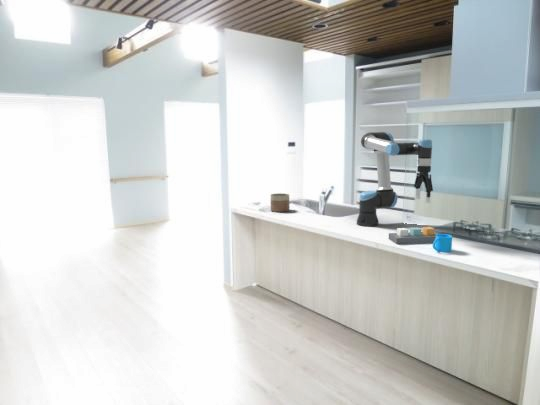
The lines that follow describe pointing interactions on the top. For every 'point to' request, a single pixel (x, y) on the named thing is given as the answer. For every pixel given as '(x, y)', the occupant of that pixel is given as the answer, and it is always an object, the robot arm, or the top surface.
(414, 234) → the button teal
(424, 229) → the button orange
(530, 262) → the top surface
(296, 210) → the top surface
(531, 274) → the top surface
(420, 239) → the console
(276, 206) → the planter
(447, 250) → the mug
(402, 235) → the button white
